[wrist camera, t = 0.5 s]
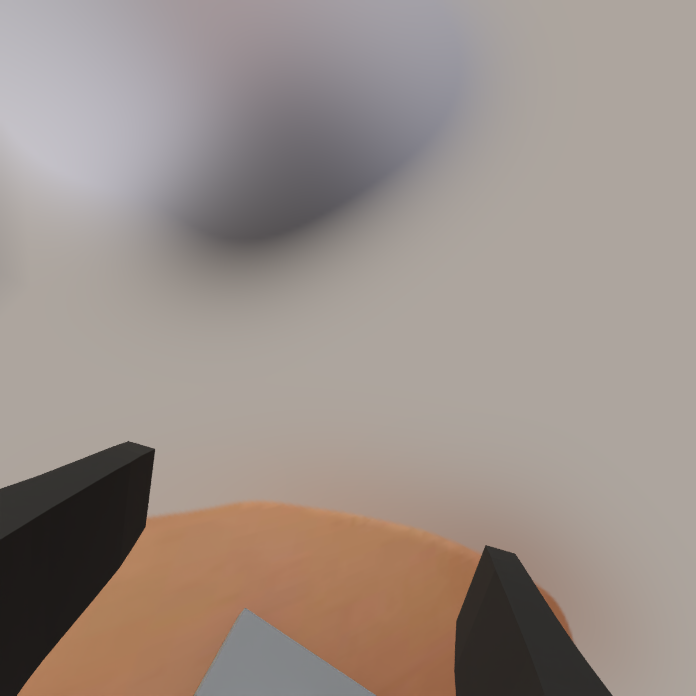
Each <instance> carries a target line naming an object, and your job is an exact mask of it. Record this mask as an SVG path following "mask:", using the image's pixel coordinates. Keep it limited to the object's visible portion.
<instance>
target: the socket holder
mask: <svg viewBox="0 0 696 696" xmlns="http://www.w3.org/2000/svg"><path fill="white" fill-rule="evenodd" d="M194 696H376V695H375V694H373V693H372V692H370V691H369V690H367V689H366V688H364V687H363V686H361V685H360V684H358V683H357V682H355V681H354V680H352V679H351V678H349V677H348V676H346V675H345V674H343V673H342V672H340V671H339V670H337V669H336V668H334V667H333V666H331V665H330V664H328V663H327V662H325V661H324V660H322V659H321V658H319V657H318V656H316V655H315V654H313V653H312V652H310V651H309V650H307V649H306V648H304V647H303V646H301V645H300V644H298V643H297V642H295V641H294V640H292V639H291V638H289V637H288V636H287V635H285V634H284V633H282V632H281V631H279V630H278V629H276V628H275V627H273V626H272V625H270V624H269V623H267V622H266V621H264V620H263V619H261V618H260V617H258V616H257V615H255V614H254V613H252V612H251V611H249V610H248V609H246V608H245V609H244V610H243V611H242V612H241V613H240V615H239V616H238V618H237V620H236V621H235V623H234V625H233V627H232V628H231V630H230V632H229V634H228V636H227V637H226V639H225V641H224V643H223V644H222V646H221V648H220V650H219V652H218V653H217V655H216V657H215V659H214V660H213V662H212V664H211V666H210V668H209V669H208V671H207V673H206V675H205V676H204V678H203V680H202V682H201V684H200V685H199V687H198V689H197V691H196V692H195V694H194Z"/></svg>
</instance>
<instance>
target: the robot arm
mask: <svg viewBox="0 0 696 696" xmlns="http://www.w3.org/2000/svg"><path fill="white" fill-rule="evenodd" d="M154 454H155V449H153V448H150V447H147V446H143V445H140V444H136V443H133V442H129V441H128V442H125V443H122V444H119V445H116V446H113V447H111V448H108V449H106V450H103V451H101V452H98V453H95V454H93V455H91V456H88V457H85V458H83V459H80V460H78V461H75V462H73V463H70V464H67V465H65V466H62V467H60V468H57V469H55V470H53V471H49V472H47V473H44V474H42V475H39V476H36V477H34V478H31V479H28V480H25V481H22V482H19V483H16V484H13V485H10V486H7V487H4V488H2V489H0V696H17V694H18V693H19V692H20V690H21V689H22V687H23V686H24V684H25V683H26V682H27V680H28V679H29V678H30V676H31V675H32V674H33V673H34V671H35V670H36V669H37V667H38V666H39V665H40V663H41V662H42V661H43V660H44V658H45V657H46V656H47V655H48V654H49V652H50V651H51V650H52V649H53V648H54V646H55V645H56V644H57V643H58V642H59V640H60V639H61V638H62V637H63V636H64V634H65V633H66V632H67V631H68V630H69V628H70V627H71V626H72V625H73V624H74V622H75V621H76V620H77V619H78V618H79V616H80V615H81V614H82V613H83V612H84V610H85V609H86V608H87V607H88V606H89V604H90V603H91V602H92V601H93V600H94V598H95V597H96V596H97V595H98V594H99V592H100V591H101V590H102V589H103V587H104V586H105V585H106V584H107V583H108V581H109V580H110V579H111V578H112V576H113V575H114V574H115V573H116V571H117V570H118V569H119V568H120V566H121V565H122V563H123V562H124V560H125V559H126V557H127V555H128V554H129V552H130V551H131V549H132V548H133V546H134V545H135V543H136V541H137V540H138V538H139V536H140V535H141V533H142V532H143V530H144V528H145V527H146V518H147V510H148V502H149V494H150V486H151V478H152V470H153V462H154ZM454 672H455V687H456V696H612V694H611V693H610V692H609V691H608V689H607V688H606V686H605V685H604V684H603V682H602V681H601V680H600V678H599V677H598V676H597V675H596V673H595V672H594V671H593V669H592V668H591V666H590V665H589V664H588V663H587V661H586V660H585V658H584V657H583V656H582V654H581V653H580V651H579V650H578V649H577V647H576V646H575V644H574V643H573V641H572V640H571V639H570V637H569V636H568V634H567V633H566V631H565V630H564V628H563V627H562V625H561V624H560V622H559V621H558V619H557V618H556V616H555V615H554V613H553V612H552V610H551V609H550V607H549V606H548V604H547V602H546V601H545V599H544V598H543V596H542V595H541V593H540V592H539V590H538V588H537V587H536V585H535V584H534V582H533V581H532V579H531V577H530V576H529V574H528V573H527V571H526V570H525V568H524V566H523V565H522V563H521V562H520V560H519V559H518V557H517V556H516V554H514V553H511V552H507V551H504V550H500V549H497V548H494V547H490V546H487V545H486V546H485V548H484V551H483V553H482V556H481V559H480V561H479V564H478V566H477V569H476V572H475V574H474V577H473V579H472V582H471V585H470V587H469V590H468V592H467V595H466V598H465V600H464V603H463V605H462V608H461V611H460V613H459V616H458V618H457V621H456V641H455V670H454Z"/></svg>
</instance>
